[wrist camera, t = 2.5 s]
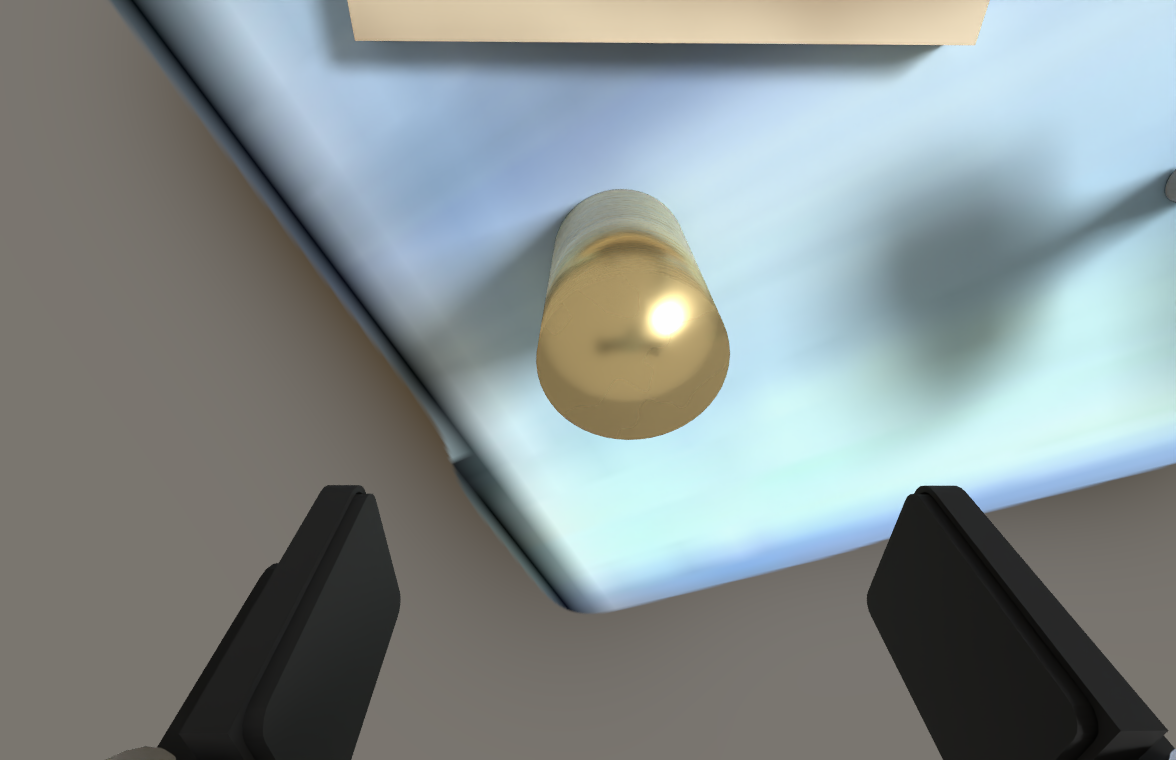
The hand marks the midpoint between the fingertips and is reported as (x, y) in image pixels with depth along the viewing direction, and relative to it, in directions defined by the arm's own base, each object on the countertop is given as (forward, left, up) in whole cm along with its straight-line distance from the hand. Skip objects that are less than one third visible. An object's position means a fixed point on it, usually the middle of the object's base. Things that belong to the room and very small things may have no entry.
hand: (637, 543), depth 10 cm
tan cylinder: (0, 0, -14) cm, 14 cm away
